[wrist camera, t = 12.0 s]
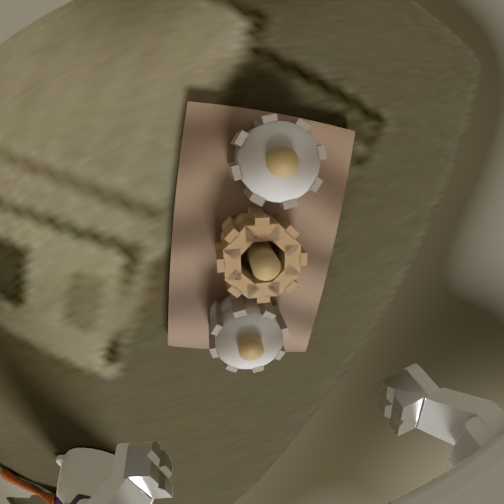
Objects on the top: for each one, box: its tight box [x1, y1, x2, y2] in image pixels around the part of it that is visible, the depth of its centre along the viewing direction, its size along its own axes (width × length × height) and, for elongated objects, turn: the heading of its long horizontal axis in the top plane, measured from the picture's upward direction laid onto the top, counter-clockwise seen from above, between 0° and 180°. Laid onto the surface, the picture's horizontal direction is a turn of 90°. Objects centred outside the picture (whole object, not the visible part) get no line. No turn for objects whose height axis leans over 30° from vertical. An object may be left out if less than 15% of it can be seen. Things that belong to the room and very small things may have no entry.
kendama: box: [1, 468, 62, 504], centre depth 38 cm, size 6×6×20 cm
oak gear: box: [215, 206, 307, 304], centre depth 24 cm, size 7×7×4 cm
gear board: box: [168, 101, 355, 373], centre depth 24 cm, size 22×14×6 cm, turn 171°
